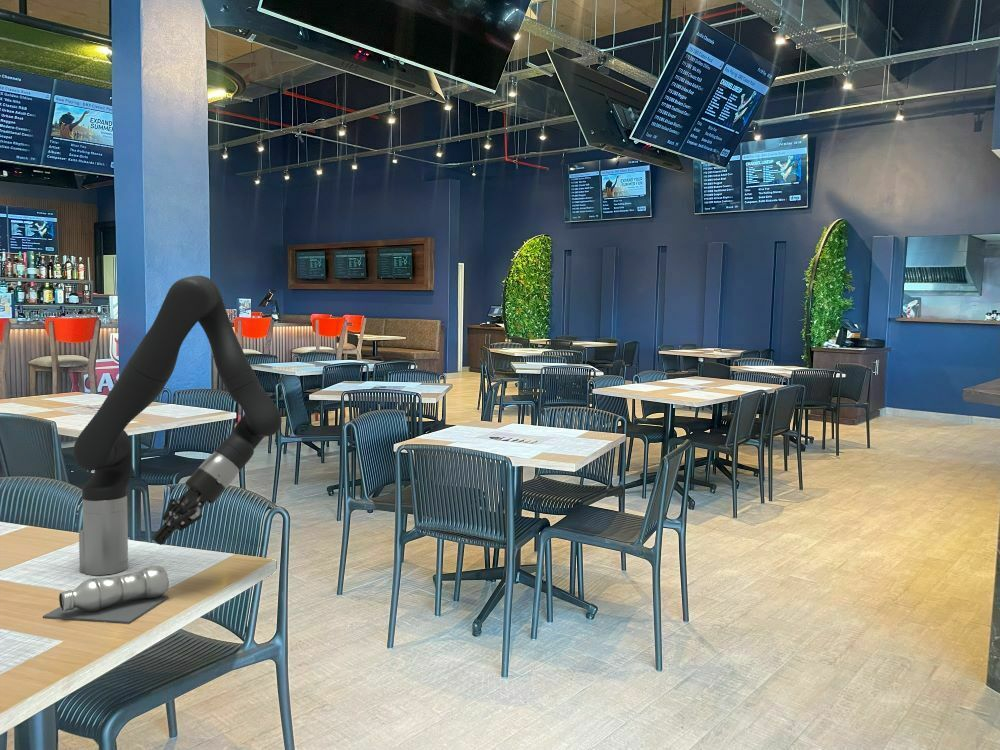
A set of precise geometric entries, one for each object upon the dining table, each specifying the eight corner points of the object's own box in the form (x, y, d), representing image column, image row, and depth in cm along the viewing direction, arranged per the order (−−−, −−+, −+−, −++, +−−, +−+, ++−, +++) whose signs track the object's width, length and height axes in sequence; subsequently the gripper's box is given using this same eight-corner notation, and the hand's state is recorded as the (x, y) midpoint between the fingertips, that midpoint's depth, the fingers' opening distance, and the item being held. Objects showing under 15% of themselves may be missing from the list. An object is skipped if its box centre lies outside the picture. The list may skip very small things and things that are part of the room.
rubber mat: (42, 618, 151) (42, 616, 151) (88, 593, 164) (88, 591, 164) (129, 623, 149) (129, 621, 148) (168, 598, 162) (168, 596, 162)
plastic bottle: (167, 600, 164) (62, 626, 150) (158, 574, 167) (55, 596, 153) (175, 583, 160) (68, 607, 147) (165, 557, 164) (60, 578, 150)
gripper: (188, 462, 173) (131, 525, 165) (213, 471, 163) (154, 538, 156) (212, 482, 177) (157, 545, 169) (237, 493, 167) (181, 559, 160)
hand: (156, 542), depth 162 cm, fingers closed
